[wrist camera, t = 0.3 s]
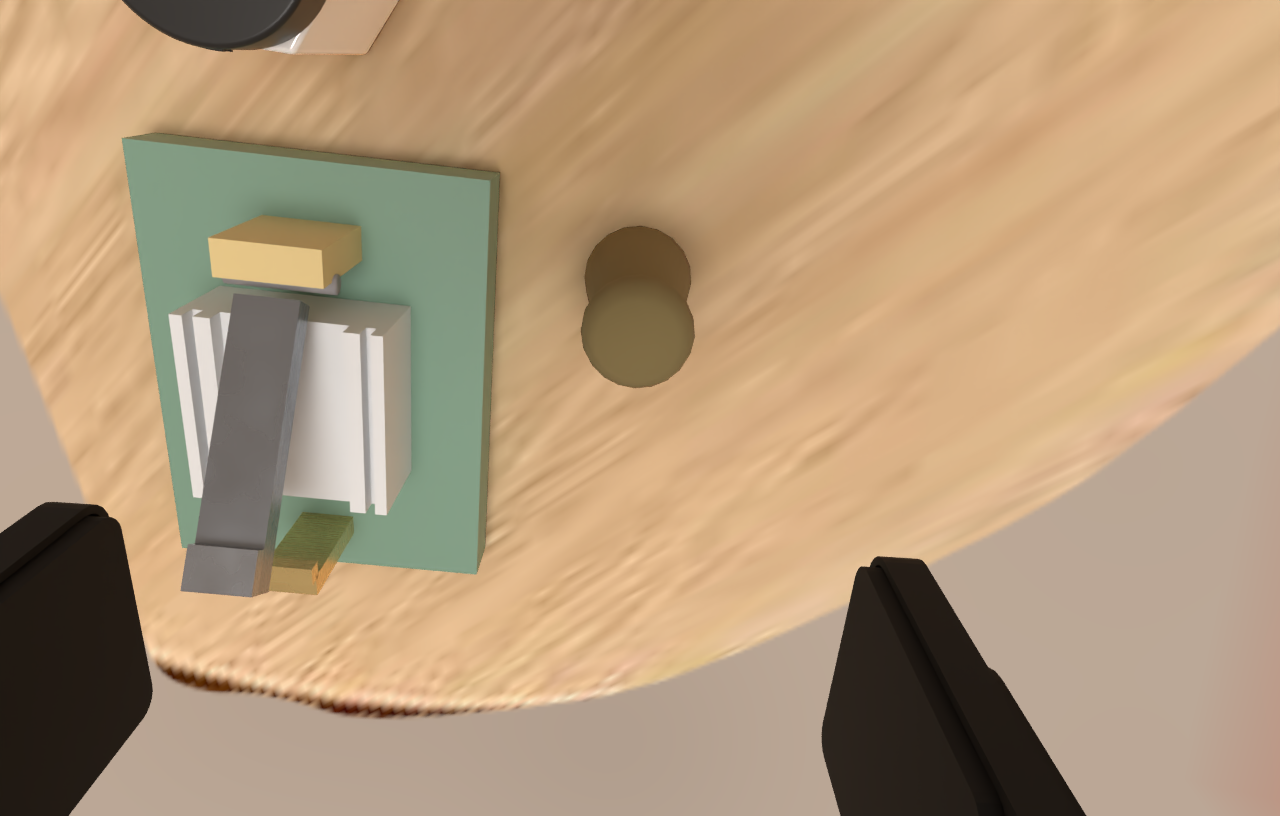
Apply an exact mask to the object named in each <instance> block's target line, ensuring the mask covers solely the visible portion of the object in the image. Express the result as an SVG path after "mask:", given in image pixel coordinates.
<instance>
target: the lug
mask: <svg viewBox="0 0 1280 816" xmlns="http://www.w3.org/2000/svg"><path fill="white" fill-rule="evenodd" d="M353 534H354V523H353V517H352V516H341V515H330V514H320V513H309V512H302V514H301V515H300V516H299V518H298V519H297V520H296V522H295V523H294V524H293V526H292V527H291V529H290V530H289V531H288V533H287V534H286V535H285V537H284V538H283V539H282V541H281V542H280V543H279V545H278V546H277V548H276V549H275V551H274V558H273V565H272V572H271V579H270V586H269V591H277V592H289V593H300V594H311V595H318V593H319V591H320V590H321V588H322V586H323V585H324V583H325V581H326V580H327V578H328V576H329V575H330V573H331V571H332V569H333V568H334V566H335V564H336V563H337V561H338V559H339V558H340V556H341V554H342V553H343V551H344V549H345V548H346V546H347V544H348V543H349V541H350V539H351V538H352V536H353Z"/></svg>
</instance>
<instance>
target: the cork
mask: <svg viewBox="0 0 1280 816" xmlns="http://www.w3.org/2000/svg"><path fill="white" fill-rule="evenodd" d="M585 284H586V292H587V296H588V300H589V304H588V306H587V308H586V309H585V312H584V317H583V322H582V327H581V335H582V343H583V348H584V350H585V352H586V354H587V356H588V358H589V360H590V362H591V364H592V365H593V366H594V367H595V368H596V369H597V370H598V372H599V373H600V374H601V375H602V376H603V377H605V378H607V379H609V380H610V381H612V382H614V383H616V384H618V385H622V386H627V387H632V388H642V387H652V386H654V385H657V384H659V383H662V382H664V381H667V380H668V379H669V378H670V377H672V376H673V375H674V374H675V373H677V372H678V371H679V370H680V369H681V367H682V366H683V364H684V362H685V361H686V359H687V358H688V356H689V355H690V353H691V349H692V345H693V342H694V338H695V333H694V320H693V316H692V314H691V311H690V309H689V307H688V304H687V302H686V301H687V297H688V293H689V289H690V285H691V275H690V266H689V263H688V261H687V258H686V256H685V254H684V251H683V250H682V249H681V248H680V247H679V245H678V244H677V243H676V242H675V241H674V240H673V239H672V238H671V237H669V236H667V235H666V234H664V233H662V232H661V231H659V230H656V229H652V228H647V227H643V226H637V227H627V228H622V229H620V230H618V231H616V232H613V233H611V234H609V235H608V236H606V237H605V238H604V239H603V240H602V241H601V242H600V243H599V244H598V245H596V247H595V248H594V250H593V252H592V254H591V256H590V257H589V259H588V262H587V267H586V272H585Z"/></svg>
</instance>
